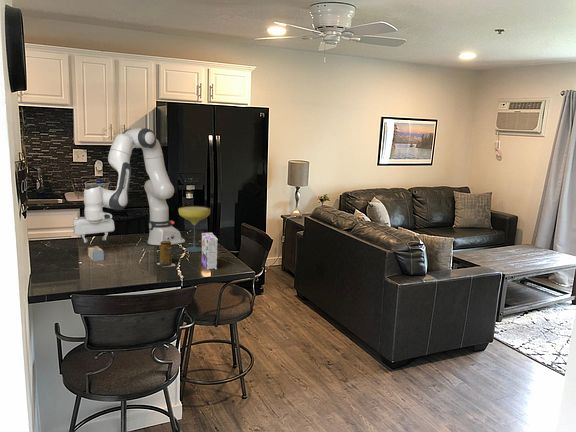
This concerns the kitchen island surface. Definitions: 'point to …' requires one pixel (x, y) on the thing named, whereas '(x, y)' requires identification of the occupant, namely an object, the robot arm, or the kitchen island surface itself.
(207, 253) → the candy box
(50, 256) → the kitchen island surface
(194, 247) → the cocktail glass
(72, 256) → the kitchen island surface
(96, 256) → the flip block
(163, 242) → the condiment
